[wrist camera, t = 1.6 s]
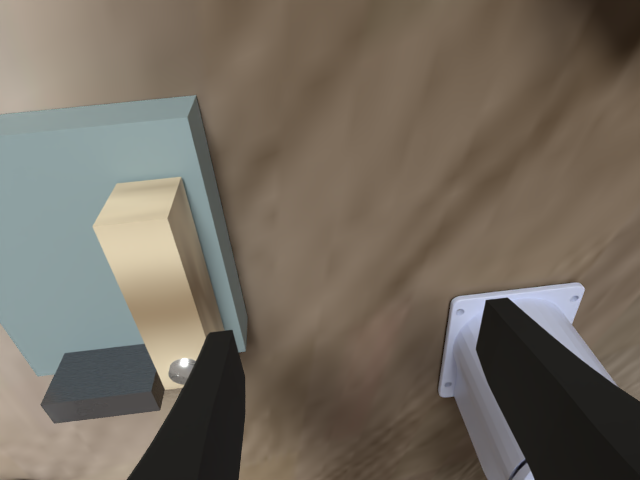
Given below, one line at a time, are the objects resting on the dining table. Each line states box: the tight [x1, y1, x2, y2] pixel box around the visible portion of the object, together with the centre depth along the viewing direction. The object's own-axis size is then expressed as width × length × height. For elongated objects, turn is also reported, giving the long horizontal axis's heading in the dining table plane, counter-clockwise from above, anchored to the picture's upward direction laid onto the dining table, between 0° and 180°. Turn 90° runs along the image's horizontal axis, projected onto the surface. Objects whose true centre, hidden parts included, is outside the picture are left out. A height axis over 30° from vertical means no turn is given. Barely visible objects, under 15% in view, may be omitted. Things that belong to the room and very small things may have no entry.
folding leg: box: [92, 177, 225, 390], centre depth 19 cm, size 9×2×3 cm, turn 4°
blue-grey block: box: [0, 95, 248, 423], centre depth 20 cm, size 13×11×6 cm
